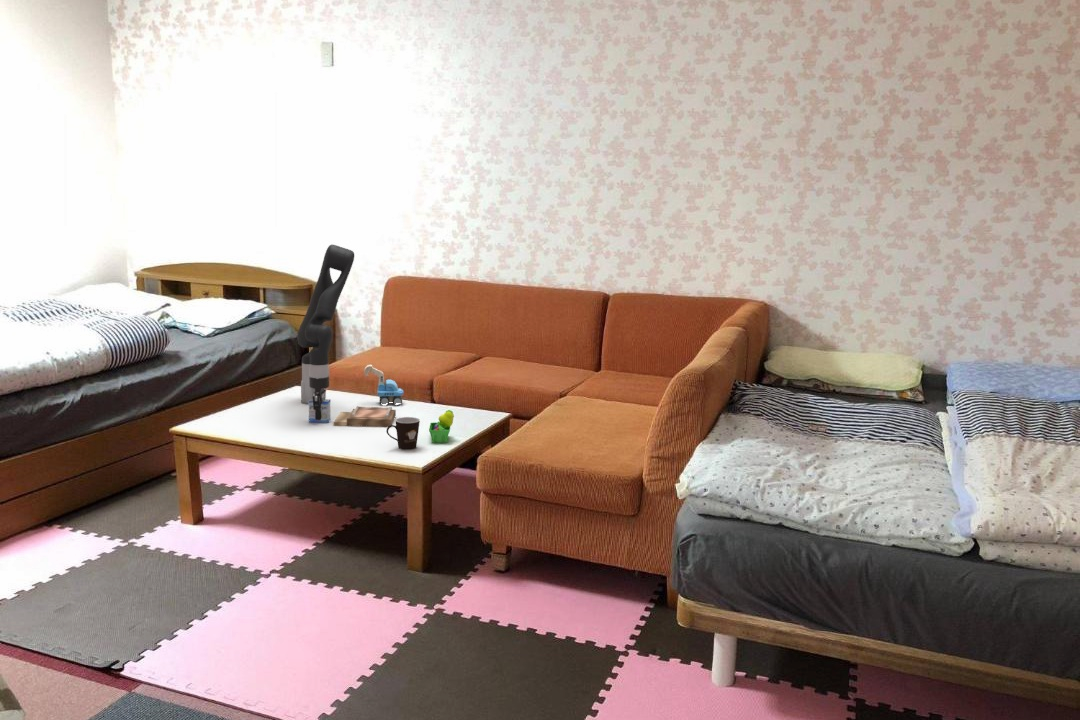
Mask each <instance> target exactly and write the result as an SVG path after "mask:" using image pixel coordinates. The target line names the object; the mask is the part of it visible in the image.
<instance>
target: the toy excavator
mask: <svg viewBox="0 0 1080 720" xmlns="http://www.w3.org/2000/svg"><path fill="white" fill-rule="evenodd" d="M363 373H364V376H365V377H369V374H370V373H372V374H373V375H375V376H376V377H378V384H377V391H376V392H377V393H376V394H377V397H379V404H380V405H381V403H382V404H386V403H388V405H389V404H390V403H389V402H393V403H392V404H393V405H394V404H396V403H402V404H403V397H402V396H404V393H405V392H404V390H403V388H400V387H399V388H398V384H397V383H396V381H395V380H392V379H386V380H385V376H384V375H385V374H384V372H383V371H382V370H379V369H377V368H375V367H373V365H372V364H367V365H366V366H365V367H364V369H363Z"/></svg>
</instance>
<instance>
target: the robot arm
mask: <svg viewBox="0 0 1080 720" xmlns="http://www.w3.org/2000/svg"><path fill="white" fill-rule="evenodd" d="M354 261H355V253H354V250H351V249H348V248H345V247H344V246H343V247H342V246H339V245H336V244H330V245H328V247H327V248H326V250H325V253H324V256H323V261H322V263H321V267H320V272H319V276H318V279H317V281H316V283H315V287H314V289H313V292H312V294H311V297H310V301H309V305H308V307H307V310H306V313H305V315H304V317H303V319H302V321H301V324H300V325H299V328H298V331H297V335H296V336H297V337H296V339H297V340H296V341H297V343H298V345H299V346H300V347H301V348H307V349H308V348H312V349H310V350H309V352H307V353H305V354H304V355H302V357H301V381H300V403H301V404H305V403H306V405H309V400H310V399H313V409H314V410H315V419H316V420H320V419H321V409H322V408H321V407H322V404H323V399H324V400H325V399H326V396H327V395H326V394H327V390H326V389H328V388H329V387H330V368H329V367H330V365H329V353H330V348H331V344H332V342H333V337H334V336H333V335H334V333H333V332H334V331H333V330H332V328H331V326H329V325H328V324H327V325H326V324H324V323H325V322H329V321H332V320H333V318H334V315H335V312H336V309H337V306H338V302H339V299H340V296H341V295H342V292H343V290H344V287H345V285H346V283H347V281H348V280H347V279H348V278H349V276H350V272H351V271H352V270H351V269H352V268H353V264H354ZM331 269H332V270H336V271H338V272H340V274H339V276H338V277H337V279H336V280H335V281H333V279H332V275H331ZM320 401H321V402H320ZM316 405H318V406H319V407H316Z"/></svg>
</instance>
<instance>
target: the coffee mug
mask: <svg viewBox="0 0 1080 720" xmlns="http://www.w3.org/2000/svg"><path fill="white" fill-rule="evenodd" d="M394 422H395V424H392V425H391V426H389V427H386V434H387V435H388V436H389V437H390V438H391V439H393V440H394V441H396V442H397V446H398V447H397V448H398V449H401V450H404V451H406V450H415V449H416V448H417V444H418V438H419V436H418V435H419V430H420V419H419V418H417V417H413V416H412V417H410V416H404V417H403V416H402V417H401V416H400V417H398V418H395V419H394ZM390 428H395V430H396V436H397V437H394V436H392V435H391V434H390V433H389V430H390Z"/></svg>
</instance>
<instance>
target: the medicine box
mask: <svg viewBox="0 0 1080 720" xmlns="http://www.w3.org/2000/svg"><path fill="white" fill-rule="evenodd" d="M320 402H321V401H320ZM316 407H319V406H318V405H316ZM331 407H332V406H331V399H328V398H327V399H325V400H324V399H323V404H322V407H321V408H322V409H321V419H320V420H316V419H315V410H314V409H313V399H310V400H309V404H308V423H311V424H312V423H313V424H314V423H315V424H316V423H317V424H318V423H321V424H322V423H323V424H324V423H326V424H328V423H330V422H331V417H332V416H331V415H332V414H331Z"/></svg>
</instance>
